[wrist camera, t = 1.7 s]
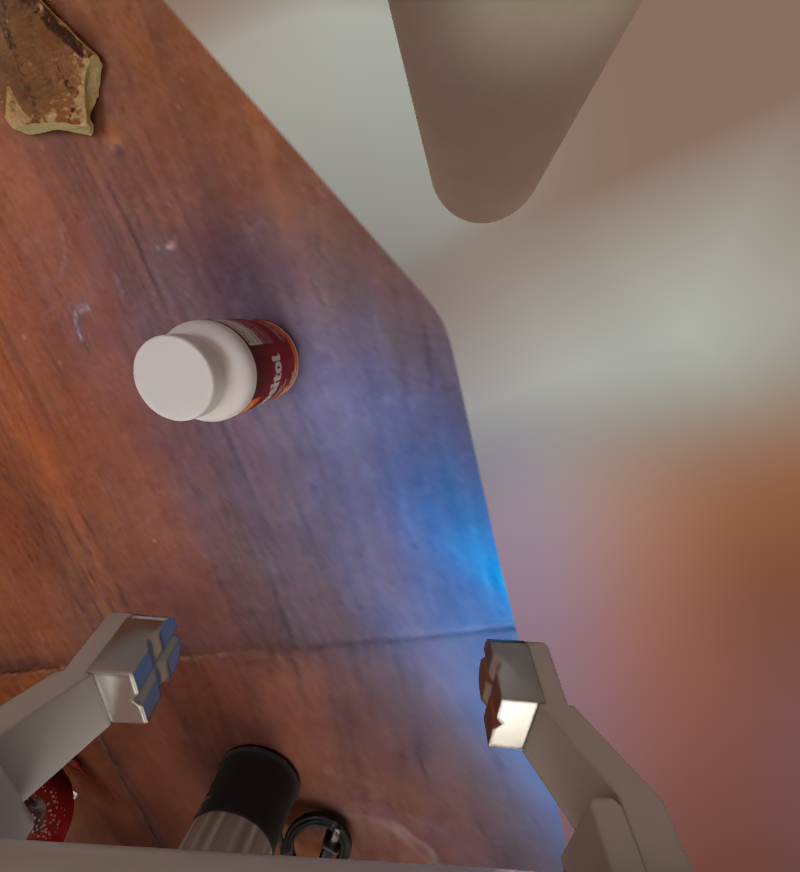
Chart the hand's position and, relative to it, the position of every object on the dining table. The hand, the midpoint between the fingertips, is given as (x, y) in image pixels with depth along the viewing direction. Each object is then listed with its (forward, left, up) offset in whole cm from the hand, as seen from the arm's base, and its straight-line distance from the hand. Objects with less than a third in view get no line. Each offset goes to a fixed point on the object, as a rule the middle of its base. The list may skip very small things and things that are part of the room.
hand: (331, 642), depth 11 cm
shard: (+13, -35, -23) cm, 43 cm away
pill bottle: (+9, -10, -23) cm, 26 cm away
